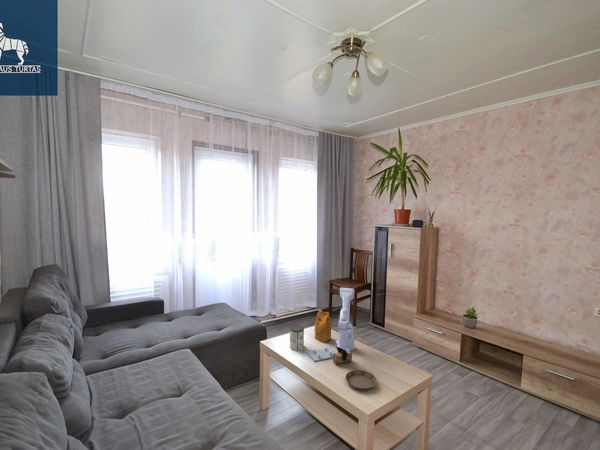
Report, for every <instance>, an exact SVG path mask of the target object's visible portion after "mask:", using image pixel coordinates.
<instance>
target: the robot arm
mask: <svg viewBox="0 0 600 450" xmlns="http://www.w3.org/2000/svg"><path fill="white" fill-rule="evenodd" d="M339 296H340V299H342V309H340V313H339V319H338V321H337V322H338V323H337V329H338V331H337V332H338V339H335V344H336V346H335V348H336V350H337V353H338V352H342V359H343V361H345V360H346V358H347V355H348V353H350V352H351V351H354V350H356V349H355V337H354V325H353V324H352V323H350V318H351V317H350V311H351V301H352V300H354V298H355V289H354V288H350V287H340V288H339Z"/></svg>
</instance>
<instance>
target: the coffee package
mask: <svg viewBox="0 0 600 450" xmlns="http://www.w3.org/2000/svg"><path fill="white" fill-rule="evenodd" d="M330 315H331V313H330V312H327V311H323V310H321V309H318V311H317V315H316V319H315V323H314V324H315V326H314V339H317V340H318V341H319V342H322V343H326V342H328V341H330V340H331V339H332V323H333V322H332V319H331V316H330Z"/></svg>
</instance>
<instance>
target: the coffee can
mask: <svg viewBox="0 0 600 450" xmlns="http://www.w3.org/2000/svg"><path fill="white" fill-rule="evenodd" d="M304 335H305V327H304V326H302V325H300V324H299V325H296V324H295V325H291V326H290V327H289V349H290V350H292V351H300V350H301V351H302V350H303V349H304V348H305V347H304V346H305V344H304V343H305V342H304V341H305V340H304V337H305V336H304Z"/></svg>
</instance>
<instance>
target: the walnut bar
mask: <svg viewBox="0 0 600 450" xmlns="http://www.w3.org/2000/svg"><path fill="white" fill-rule="evenodd" d="M350 361H351V362H352V361H353V353H352V352H351V351H350V353H348V355H347V358H346V360H345V361H343V359H342V352H338V351H337V352H335V353H334V354H333V358H332V362H333V363H334V364H335V365H339V364H343V363H346V362H350Z"/></svg>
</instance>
